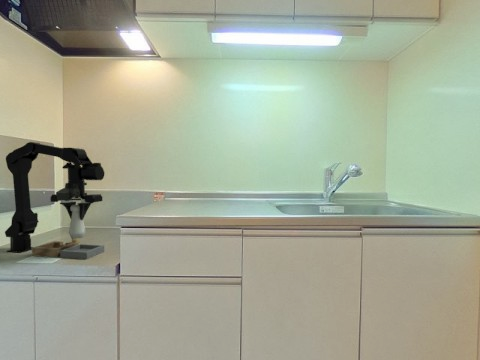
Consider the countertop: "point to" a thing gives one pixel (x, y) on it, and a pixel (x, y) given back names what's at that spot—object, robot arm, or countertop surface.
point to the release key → (72, 241)
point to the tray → (82, 251)
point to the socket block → (51, 249)
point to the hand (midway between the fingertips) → (76, 220)
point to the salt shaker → (76, 223)
